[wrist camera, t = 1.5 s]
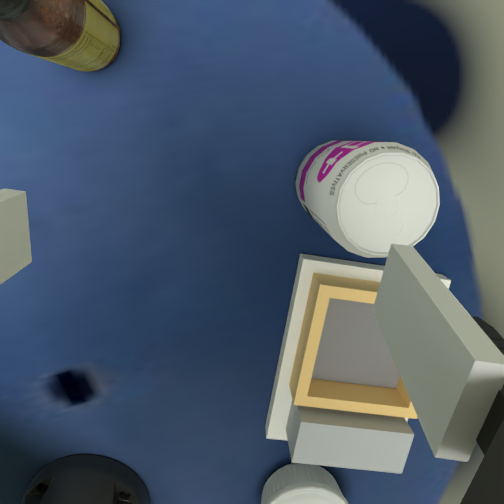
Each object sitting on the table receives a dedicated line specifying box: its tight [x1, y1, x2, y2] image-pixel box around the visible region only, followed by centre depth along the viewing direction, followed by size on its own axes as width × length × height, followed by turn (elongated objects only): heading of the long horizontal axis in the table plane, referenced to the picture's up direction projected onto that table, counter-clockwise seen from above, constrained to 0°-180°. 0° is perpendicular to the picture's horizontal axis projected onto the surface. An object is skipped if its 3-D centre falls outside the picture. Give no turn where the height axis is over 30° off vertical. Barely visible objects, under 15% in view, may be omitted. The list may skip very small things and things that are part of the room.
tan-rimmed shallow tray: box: [265, 254, 451, 474], centre depth 44 cm, size 22×16×7 cm
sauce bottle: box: [0, 0, 120, 71], centre depth 28 cm, size 6×6×20 cm
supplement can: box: [295, 141, 440, 258], centre depth 34 cm, size 8×8×15 cm
